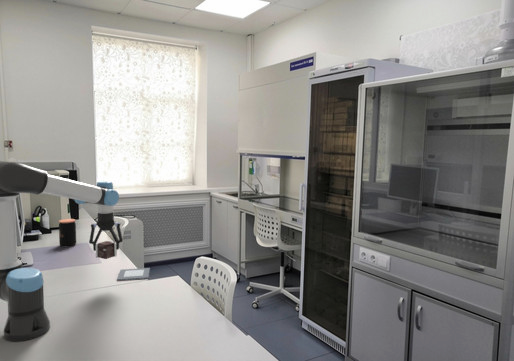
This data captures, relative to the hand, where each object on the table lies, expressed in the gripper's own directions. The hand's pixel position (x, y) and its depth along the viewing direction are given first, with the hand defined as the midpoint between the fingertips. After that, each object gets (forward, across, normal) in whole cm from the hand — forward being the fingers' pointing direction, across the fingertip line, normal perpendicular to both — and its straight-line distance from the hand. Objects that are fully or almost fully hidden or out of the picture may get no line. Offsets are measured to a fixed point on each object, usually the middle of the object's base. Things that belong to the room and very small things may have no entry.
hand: (106, 256), depth 189 cm
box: (+1, 0, 0) cm, 1 cm away
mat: (+15, -12, -14) cm, 24 cm away
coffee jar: (+15, +39, -87) cm, 97 cm away
